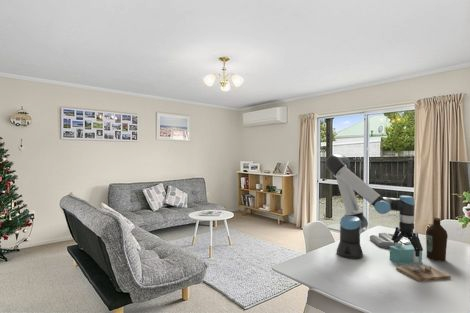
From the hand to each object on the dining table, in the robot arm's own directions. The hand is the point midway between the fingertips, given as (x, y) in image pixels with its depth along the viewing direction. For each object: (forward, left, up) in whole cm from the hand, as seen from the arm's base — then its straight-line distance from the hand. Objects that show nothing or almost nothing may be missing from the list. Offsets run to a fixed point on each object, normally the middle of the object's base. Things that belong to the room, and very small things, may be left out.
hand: (406, 257), depth 161 cm
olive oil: (+22, 0, -2) cm, 22 cm away
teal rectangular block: (0, 0, -2) cm, 2 cm away
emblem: (+15, +27, -3) cm, 31 cm away
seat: (-6, -17, -2) cm, 18 cm away
